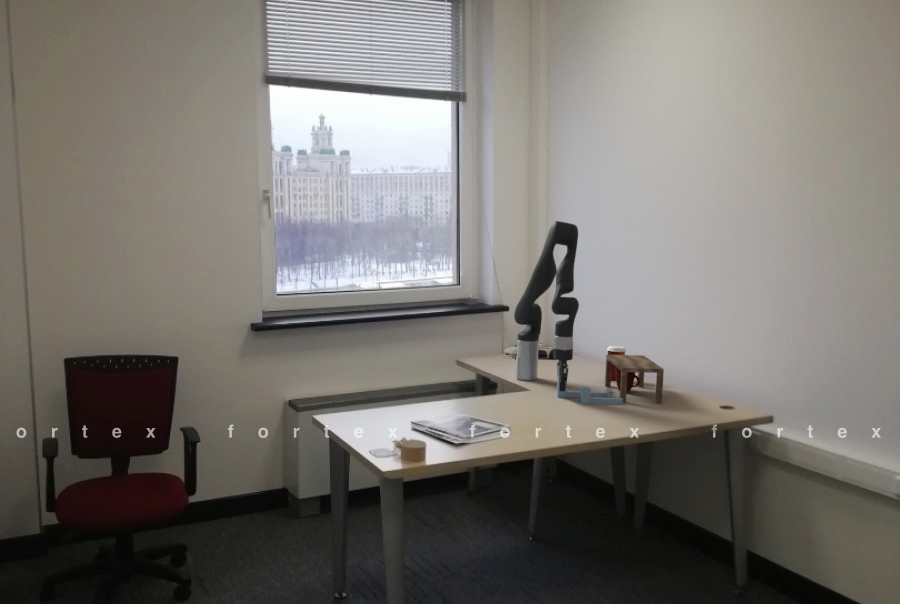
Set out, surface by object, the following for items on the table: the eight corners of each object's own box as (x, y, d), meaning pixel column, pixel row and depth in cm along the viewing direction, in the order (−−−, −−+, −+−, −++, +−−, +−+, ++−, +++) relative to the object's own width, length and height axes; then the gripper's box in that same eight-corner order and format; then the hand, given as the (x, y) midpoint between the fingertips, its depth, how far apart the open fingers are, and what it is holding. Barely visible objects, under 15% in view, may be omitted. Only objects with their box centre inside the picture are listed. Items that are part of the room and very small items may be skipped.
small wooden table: (620, 402, 304) (622, 368, 303) (604, 385, 334) (606, 354, 332) (661, 403, 304) (663, 369, 303) (642, 386, 334) (643, 355, 333)
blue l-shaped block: (581, 403, 300) (581, 388, 300) (579, 401, 303) (580, 386, 303) (622, 404, 300) (623, 389, 300) (621, 402, 304) (621, 387, 303)
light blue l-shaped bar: (558, 397, 309) (559, 372, 308) (556, 395, 314) (557, 370, 313) (612, 399, 309) (614, 374, 308) (610, 396, 314) (611, 371, 313)
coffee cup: (626, 382, 342) (627, 348, 340) (607, 382, 342) (608, 348, 340) (622, 378, 350) (624, 345, 348) (603, 378, 350) (605, 345, 348)
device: (526, 349, 426) (526, 340, 426) (573, 354, 413) (573, 345, 412) (499, 358, 398) (499, 348, 397) (549, 364, 384) (549, 354, 384)
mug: (642, 392, 324) (644, 368, 322) (636, 395, 317) (637, 371, 316) (618, 388, 329) (619, 365, 328) (611, 391, 322) (612, 368, 321)
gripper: (551, 344, 317) (549, 386, 318) (556, 350, 303) (554, 393, 304) (570, 344, 317) (568, 386, 318) (575, 350, 303) (573, 394, 304)
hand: (561, 389), depth 311 cm, fingers closed on light blue l-shaped bar, 3 cm apart
